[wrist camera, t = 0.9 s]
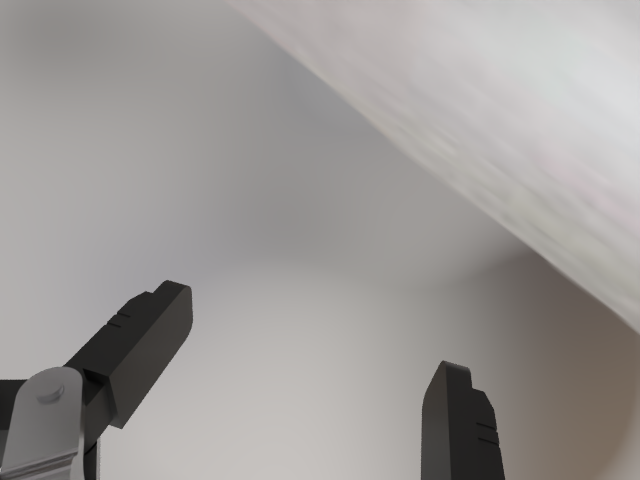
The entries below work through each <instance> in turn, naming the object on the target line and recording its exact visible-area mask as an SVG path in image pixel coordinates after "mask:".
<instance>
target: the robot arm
mask: <svg viewBox="0 0 640 480" xmlns="http://www.w3.org/2000/svg"><path fill="white" fill-rule="evenodd" d="M192 323H193V311H192V291H191V288H190V287H189V286H186V285H183V284H179V283H176V282H172V281H169V280H166V281H164V282H163V283H162V284H161V285H160V286H159V287H158V288H157V289H156V290H155V291H154V292H153V293H150V292H147V291H146V292H144V293H142V294H140V295H138V296H136V297H134V298H132V299H130V300H129V301H128V302H127V303H126V304H125V305H124V306H123V307H122V308H121V309H120V310H119V311H118V312H117V314H116V315H114V316H113V317H112V318H111V319H110V320H109V321H108V322H107V324H106V325H104V326H103V327H102V328H101V329H100V330H99V331H98V332H97V333H96V334H95V335H94V336H93V337H92V338H91V339H90V340H89V341H88V342H87V343H86V344H85V345H84V346H83V347H82V348H81V349H80V350H79V351H78V352H77V353H76V354H75V355H74V356H73V357H72V358H71V359H70V360H69V361H68V362H67V363H66V364H65V365H63V366H62V367H54V368H50V369H46V370H44V371H41V372H39V373H37V374H35V375H34V376H32V377H31V378H30V379H28V380H27V379H26V380H0V468H1V472H0V480H100V436H101V434H102V433H103V431H104V430H105V429H106V428H107V426H108V425H111V426H114V427H117V428H120V429H122V428H123V427H124V425H125V424H126V422H127V421H128V420H129V418H130V417H131V416H132V414H133V413H134V411H135V410H136V409H137V407H138V406H139V404H140V403H141V402H142V400H143V399H144V397H145V396H146V394H147V393H148V392H149V390H150V389H151V388H152V386H153V385H154V383H155V382H156V381H157V379H158V378H159V376H160V375H161V374H162V372H163V371H164V369H165V368H166V367H167V365H168V364H169V362H170V361H171V360H172V358H173V357H174V355H175V354H176V353H177V351H178V350H179V348H180V347H181V345H182V344H183V343H184V341H185V340H186V338H187V337H188V335H189V332H190V330H191V327H192ZM496 430H497V426H496V419H495V413H494V409H493V407H492V405H491V404H490V402H489V400H488V398H487V396H486V394H485V393H484V392H483V391H480V390H476V389H473V388H472V381H471V373H470V370H469V368H467V367H464V366H460V365H457V364H453V363H450V362H447V361H442V362H441V363H440V365H439V367H438V369H437V371H436V373H435V374H434V376H433V378H432V381H431V383H430V385H429V386H428V388H427V391H426V393H425V397H424V400H423V406H422V443H421V446H422V447H421V480H505V476H504V469H503V463H502V457H501V451H500V448H499V438H498V433H497V432H496ZM1 466H2V467H1Z"/></svg>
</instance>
